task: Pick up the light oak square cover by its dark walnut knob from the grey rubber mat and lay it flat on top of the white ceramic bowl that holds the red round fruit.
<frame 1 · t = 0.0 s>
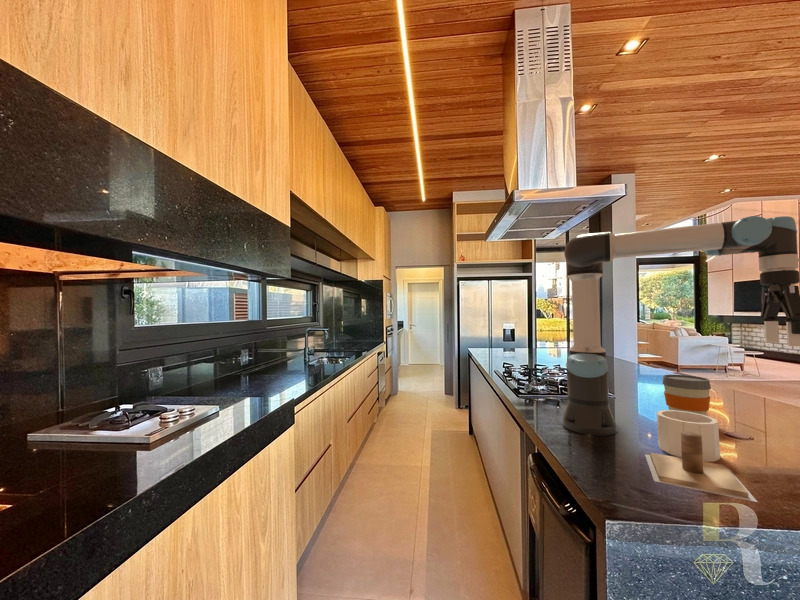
hand: (783, 344, 94), 28 cm above the counter, tool pointing down, fingers open, 13 cm apart
ceramic bowl: (687, 452, 87), on the counter
red round fruit: (687, 453, 87), resting in ceramic bowl
grey mat: (693, 476, 74), on the counter
oak cover: (693, 474, 74), resting on grey mat
reusable coffee cup: (687, 422, 112), on the counter
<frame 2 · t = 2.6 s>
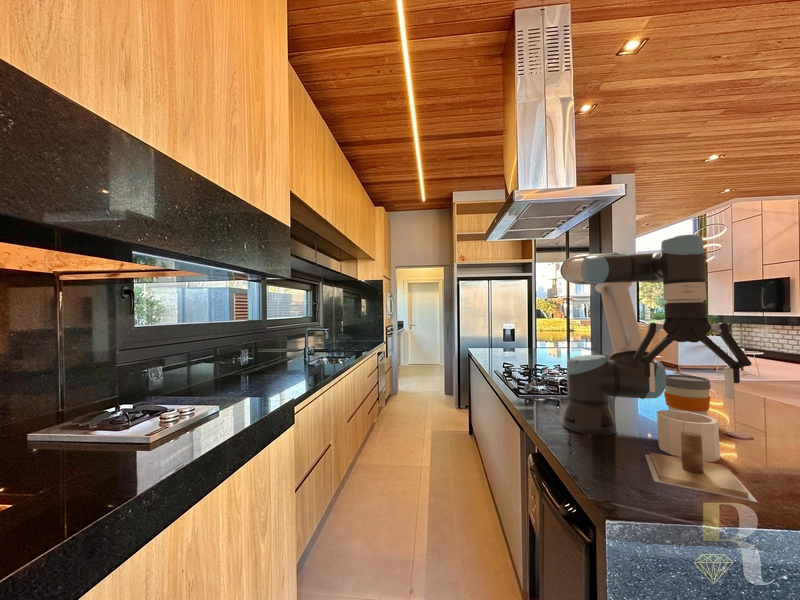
hand: (689, 394, 75), 18 cm above the counter, tool pointing down, fingers open, 13 cm apart
nothing on the counter moved.
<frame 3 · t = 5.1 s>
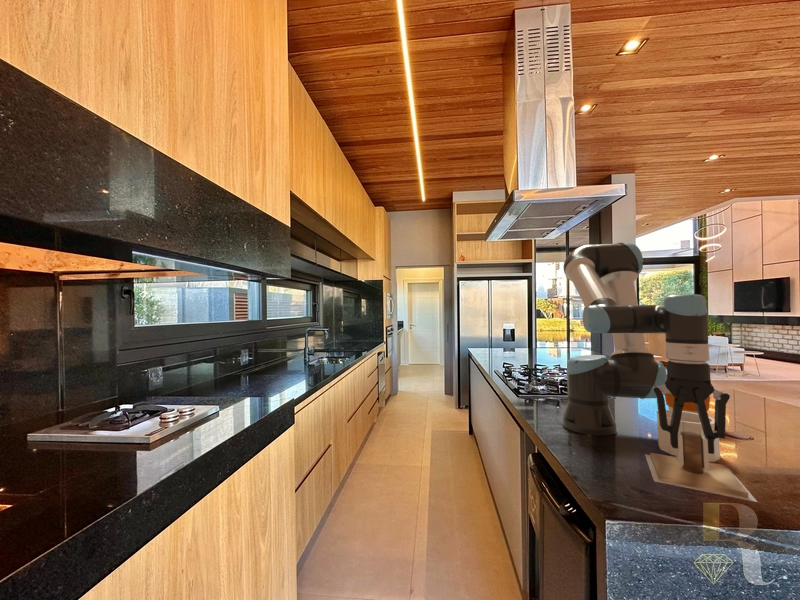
hand: (692, 464, 74), 3 cm above the counter, tool pointing down, fingers closed on oak cover, 4 cm apart
oak cover: (693, 474, 74), resting on grey mat, touching gripper
everything else where it was.
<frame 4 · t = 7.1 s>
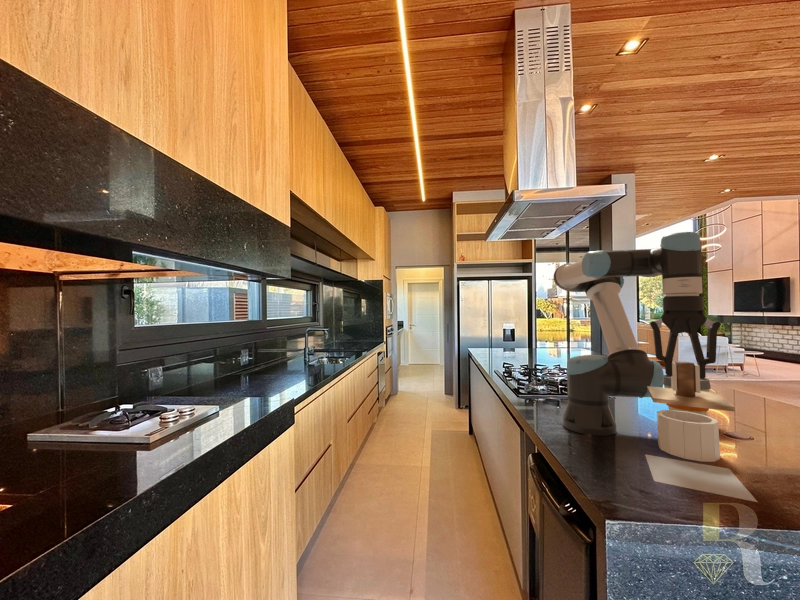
hand: (685, 390, 80), 18 cm above the counter, tool pointing down, fingers closed on oak cover, 4 cm apart
oak cover: (685, 399, 80), point 16 cm above the counter, touching gripper
everything else where it was.
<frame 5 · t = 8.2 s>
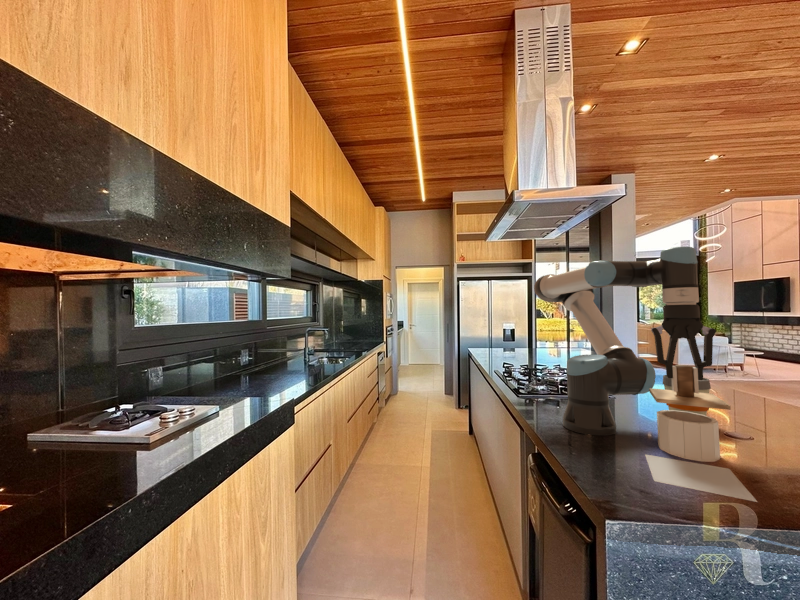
hand: (685, 391, 88), 16 cm above the counter, tool pointing down, fingers closed on oak cover, 4 cm apart
oak cover: (685, 399, 88), point 14 cm above the counter, touching gripper
everything else where it was.
when the fingers open (13 cm above the counter, at t = 9.3 s): oak cover drops 1 cm, resting on ceramic bowl.
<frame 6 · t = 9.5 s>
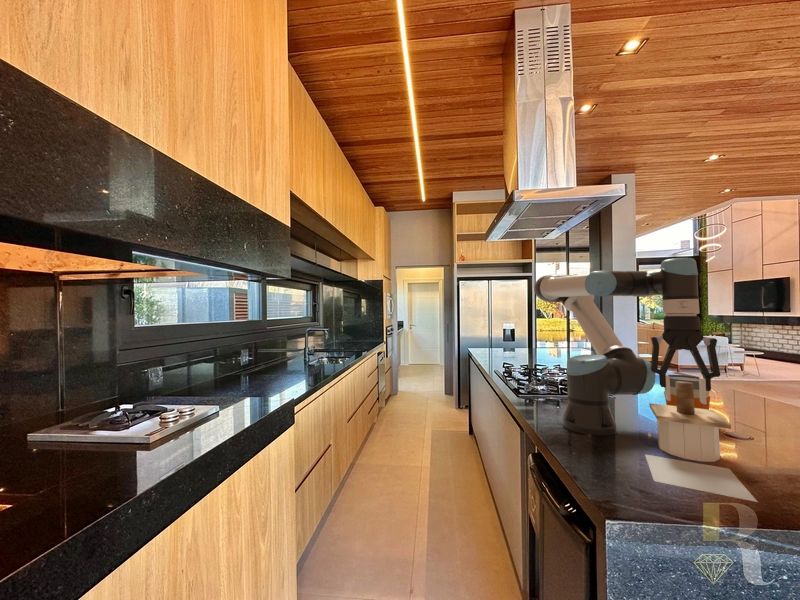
hand: (685, 401, 88), 14 cm above the counter, tool pointing down, fingers open, 7 cm apart
oak cover: (685, 416, 87), point 9 cm above the counter, touching ceramic bowl
everything else where it was.
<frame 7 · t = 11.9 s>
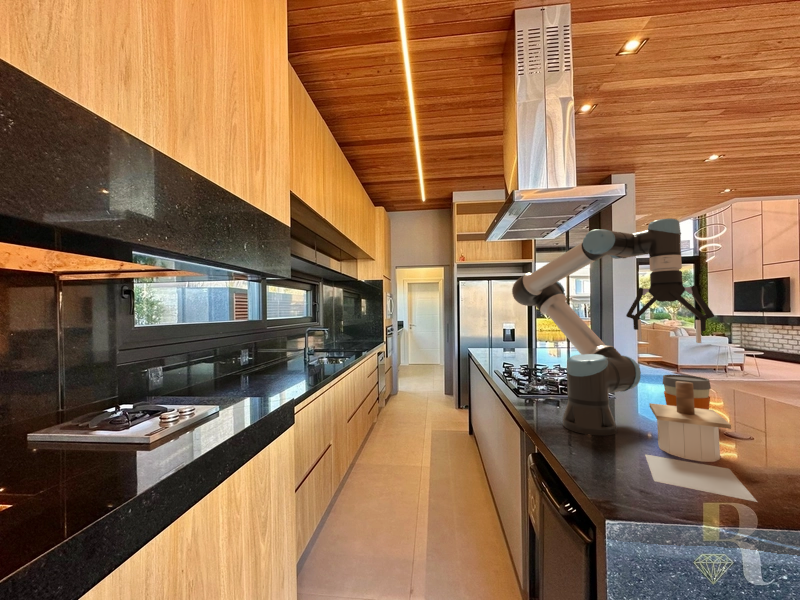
hand: (668, 341, 98), 29 cm above the counter, tool pointing down, fingers open, 13 cm apart
nothing on the counter moved.
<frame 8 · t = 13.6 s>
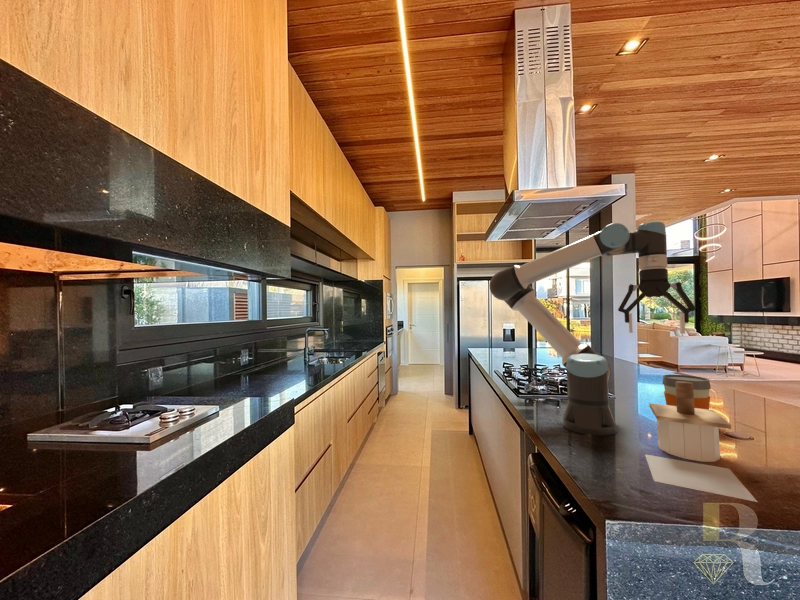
hand: (655, 333, 108), 31 cm above the counter, tool pointing down, fingers open, 13 cm apart
nothing on the counter moved.
at the end: oak cover 0.0 cm off-centre on the ceramic bowl, point 9.5 cm above the ceramic bowl's base; oak cover tilted 0°; the gripper is holding nothing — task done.
